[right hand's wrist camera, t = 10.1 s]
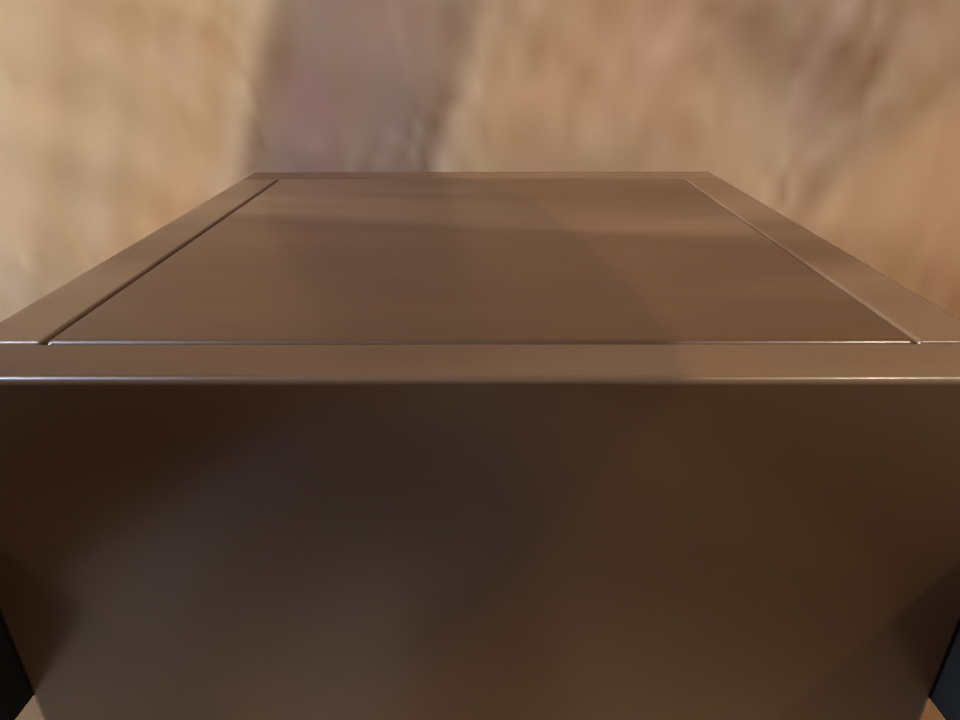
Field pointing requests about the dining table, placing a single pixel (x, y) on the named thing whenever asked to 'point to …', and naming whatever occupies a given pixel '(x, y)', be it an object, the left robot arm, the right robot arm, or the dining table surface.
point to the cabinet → (480, 461)
